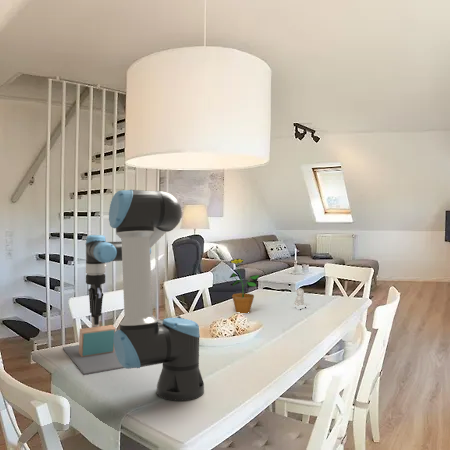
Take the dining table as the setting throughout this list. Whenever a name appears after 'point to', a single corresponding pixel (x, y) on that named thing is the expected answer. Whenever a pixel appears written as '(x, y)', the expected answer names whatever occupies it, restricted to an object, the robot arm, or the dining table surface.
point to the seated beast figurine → (299, 297)
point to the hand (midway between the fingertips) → (95, 332)
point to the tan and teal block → (96, 340)
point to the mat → (93, 361)
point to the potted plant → (243, 299)
